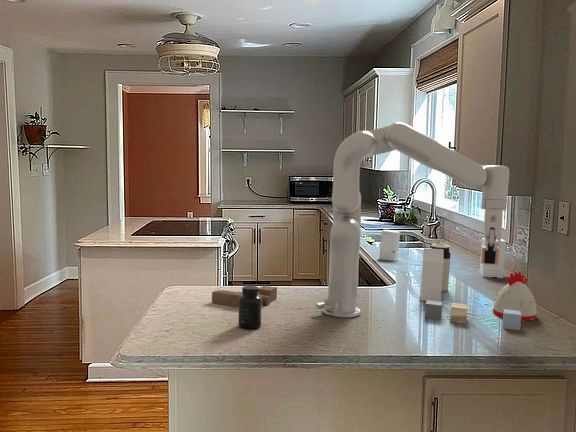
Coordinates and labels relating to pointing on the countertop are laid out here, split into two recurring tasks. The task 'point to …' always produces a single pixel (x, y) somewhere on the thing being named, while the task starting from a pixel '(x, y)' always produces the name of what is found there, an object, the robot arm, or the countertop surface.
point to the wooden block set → (232, 298)
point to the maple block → (458, 313)
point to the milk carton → (432, 275)
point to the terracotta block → (495, 256)
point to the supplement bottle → (250, 308)
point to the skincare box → (389, 245)
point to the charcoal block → (433, 310)
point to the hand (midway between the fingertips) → (489, 261)
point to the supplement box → (494, 270)
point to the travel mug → (444, 264)
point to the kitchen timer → (516, 298)
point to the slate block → (511, 319)
